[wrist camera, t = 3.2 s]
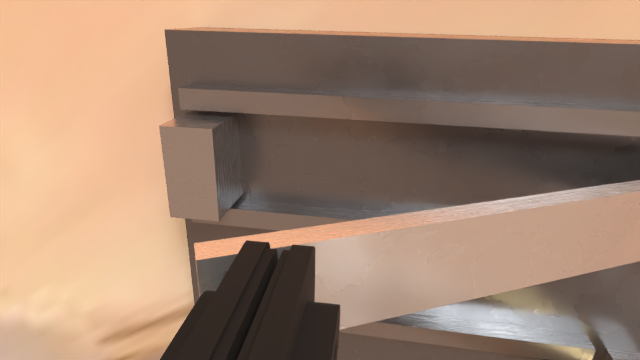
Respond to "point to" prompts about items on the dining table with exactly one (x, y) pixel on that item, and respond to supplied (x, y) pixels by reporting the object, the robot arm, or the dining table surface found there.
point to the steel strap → (453, 250)
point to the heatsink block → (410, 161)
